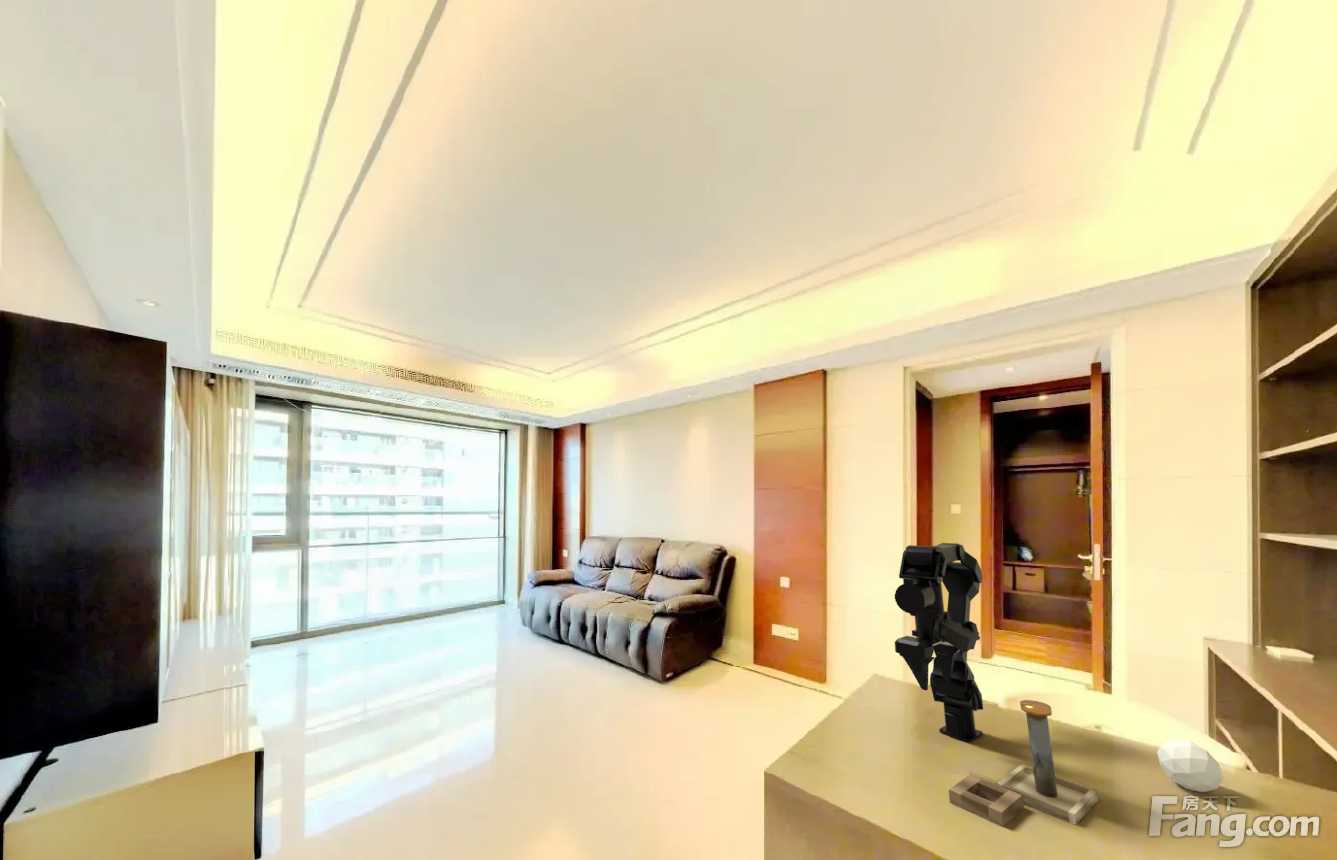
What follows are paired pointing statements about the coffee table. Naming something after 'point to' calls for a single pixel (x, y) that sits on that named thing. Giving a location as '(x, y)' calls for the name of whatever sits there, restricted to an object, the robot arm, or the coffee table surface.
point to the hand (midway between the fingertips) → (936, 685)
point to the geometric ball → (1190, 765)
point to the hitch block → (996, 811)
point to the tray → (1065, 806)
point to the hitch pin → (1040, 746)
